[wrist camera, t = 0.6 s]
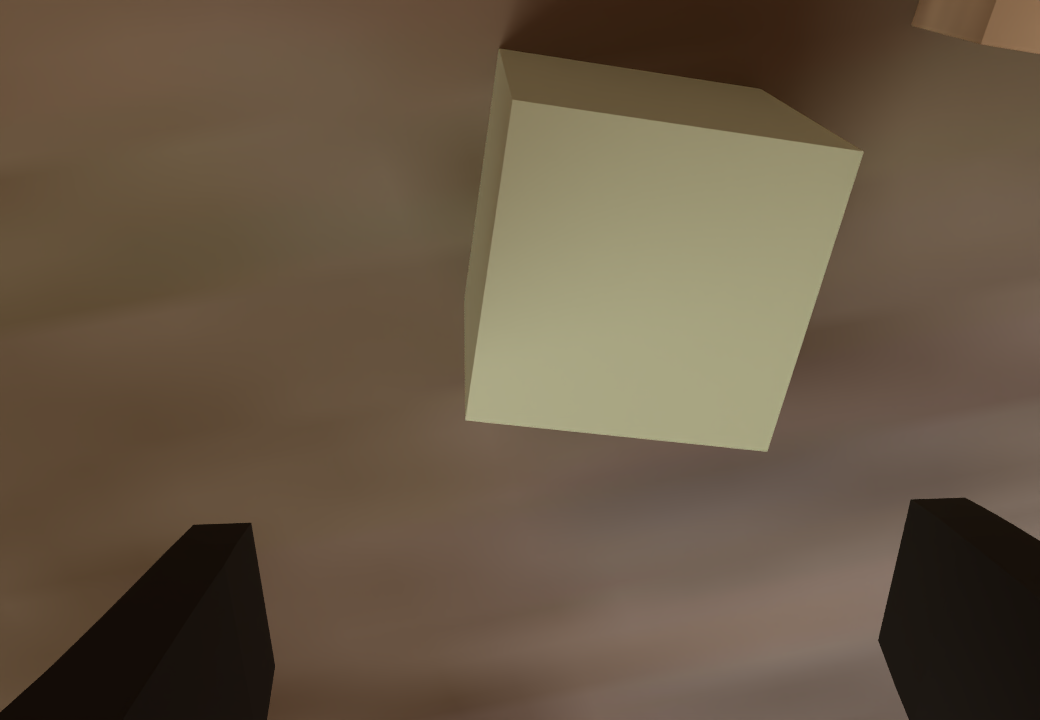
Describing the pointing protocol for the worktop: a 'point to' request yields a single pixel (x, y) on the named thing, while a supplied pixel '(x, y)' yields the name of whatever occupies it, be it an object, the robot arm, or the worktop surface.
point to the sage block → (645, 252)
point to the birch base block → (984, 21)
